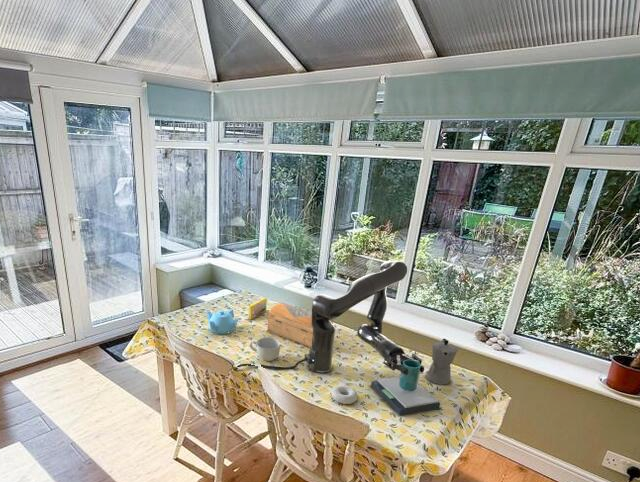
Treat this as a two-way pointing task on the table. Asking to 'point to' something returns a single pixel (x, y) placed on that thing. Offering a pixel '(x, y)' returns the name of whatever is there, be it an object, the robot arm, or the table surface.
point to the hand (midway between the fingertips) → (414, 371)
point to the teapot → (222, 321)
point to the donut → (344, 399)
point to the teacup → (266, 348)
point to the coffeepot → (441, 362)
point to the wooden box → (291, 323)
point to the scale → (404, 396)
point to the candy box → (257, 308)
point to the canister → (410, 375)
